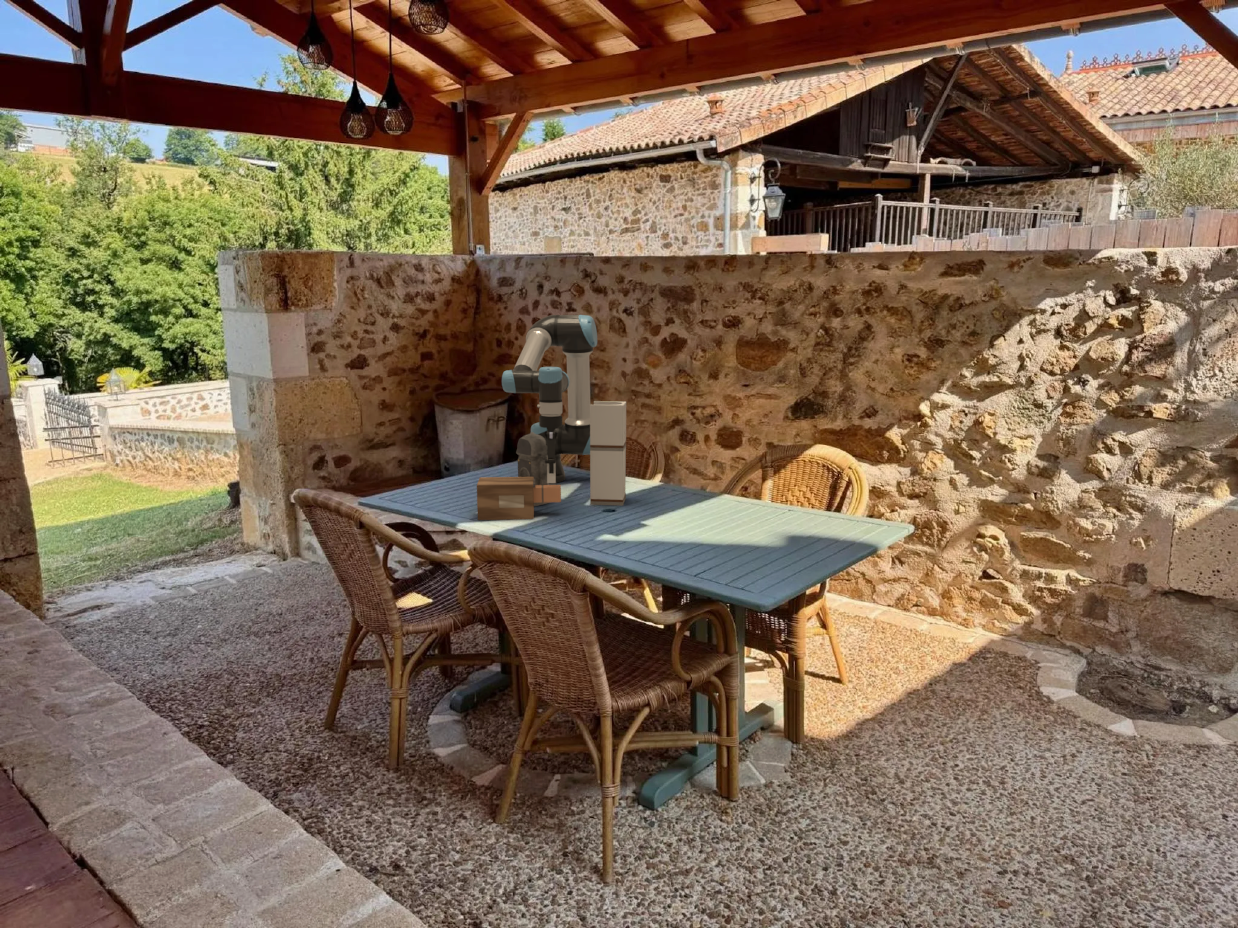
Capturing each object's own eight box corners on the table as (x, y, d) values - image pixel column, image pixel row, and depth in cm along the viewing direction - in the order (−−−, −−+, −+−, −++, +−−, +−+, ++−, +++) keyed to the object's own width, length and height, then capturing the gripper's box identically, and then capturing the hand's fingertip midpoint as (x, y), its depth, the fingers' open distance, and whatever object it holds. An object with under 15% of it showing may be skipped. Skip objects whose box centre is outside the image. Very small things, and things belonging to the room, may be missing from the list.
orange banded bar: (485, 500, 274) (484, 485, 273) (560, 499, 276) (560, 484, 275) (484, 503, 270) (484, 488, 269) (560, 502, 272) (560, 487, 271)
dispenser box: (480, 510, 278) (479, 477, 276) (535, 509, 280) (535, 476, 278) (477, 520, 266) (476, 485, 264) (535, 519, 268) (534, 484, 266)
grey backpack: (535, 507, 282) (534, 436, 277) (511, 500, 293) (510, 431, 288) (557, 503, 289) (557, 433, 284) (533, 496, 299) (532, 428, 294)
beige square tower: (625, 498, 297) (626, 401, 290) (622, 505, 286) (623, 405, 279) (594, 497, 298) (594, 401, 291) (590, 504, 287) (590, 404, 280)
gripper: (539, 410, 280) (540, 471, 284) (538, 419, 255) (539, 486, 259) (561, 410, 280) (562, 471, 284) (563, 419, 256) (563, 486, 260)
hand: (551, 478), depth 272 cm, fingers open, 13 cm apart
